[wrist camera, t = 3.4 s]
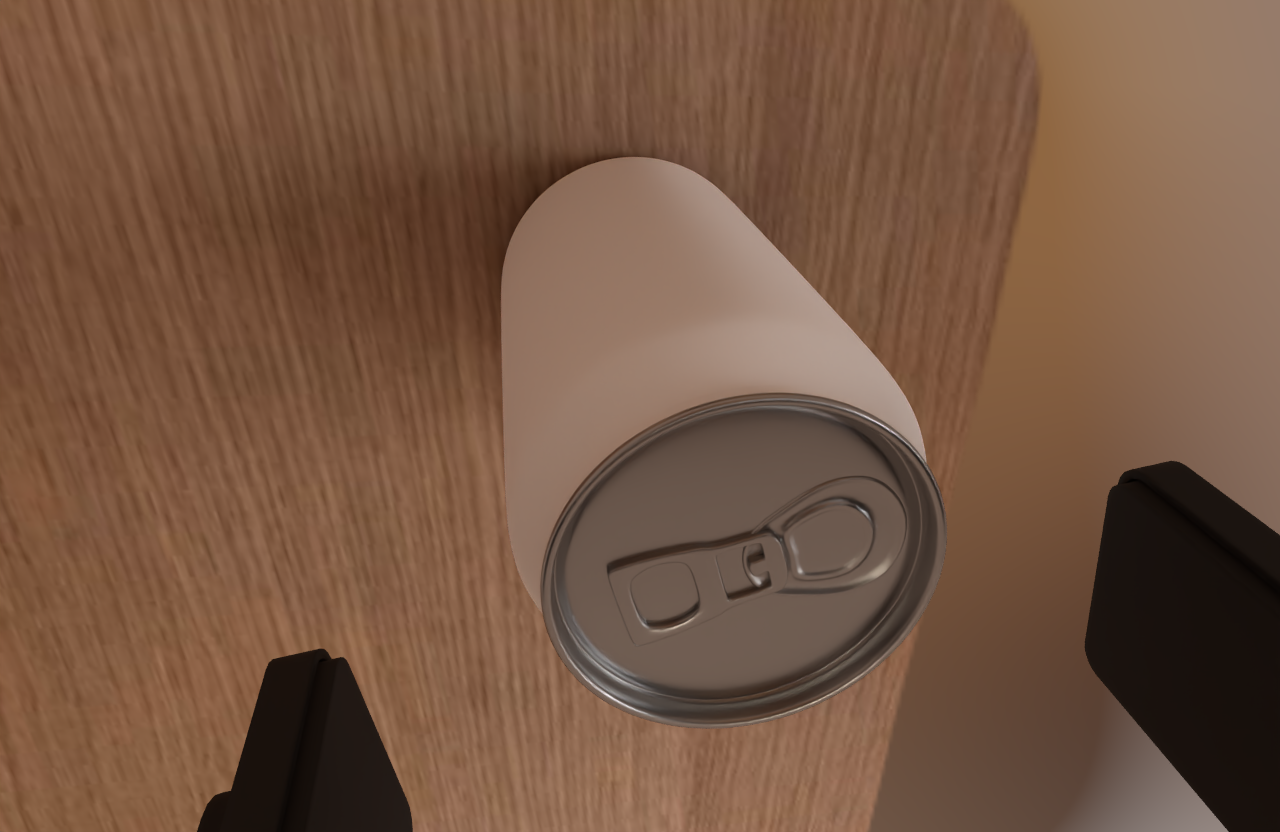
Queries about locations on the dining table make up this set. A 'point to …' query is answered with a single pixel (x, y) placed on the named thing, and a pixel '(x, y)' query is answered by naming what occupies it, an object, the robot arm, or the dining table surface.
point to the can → (702, 457)
